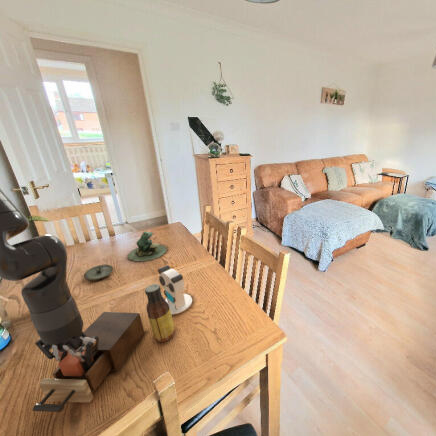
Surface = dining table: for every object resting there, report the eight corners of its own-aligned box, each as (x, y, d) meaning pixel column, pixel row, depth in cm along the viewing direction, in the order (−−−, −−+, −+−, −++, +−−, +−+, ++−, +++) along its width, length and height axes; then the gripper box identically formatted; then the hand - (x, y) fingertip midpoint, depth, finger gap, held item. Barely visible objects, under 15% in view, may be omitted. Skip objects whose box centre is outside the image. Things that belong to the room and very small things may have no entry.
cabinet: (117, 371, 68) (109, 350, 65) (76, 370, 68) (66, 348, 65) (144, 332, 81) (139, 312, 77) (110, 331, 80) (103, 311, 77)
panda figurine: (154, 304, 93) (146, 272, 87) (181, 289, 101) (176, 259, 96) (169, 319, 86) (162, 285, 81) (197, 302, 95) (193, 270, 89)
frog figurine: (172, 252, 129) (169, 233, 125) (135, 265, 116) (130, 244, 112) (158, 241, 139) (155, 223, 135) (123, 252, 127) (117, 233, 122)
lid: (107, 269, 115) (102, 260, 113) (118, 270, 110) (114, 261, 109) (82, 282, 106) (77, 272, 105) (93, 283, 102) (88, 273, 100)
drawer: (74, 423, 55) (65, 405, 53) (29, 422, 55) (18, 403, 53) (123, 357, 71) (117, 340, 69) (88, 355, 71) (81, 339, 69)
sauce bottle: (177, 326, 83) (168, 280, 76) (172, 342, 78) (162, 293, 70) (157, 328, 82) (146, 281, 75) (150, 344, 76) (138, 294, 69)
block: (63, 376, 60) (57, 364, 58) (78, 359, 64) (73, 348, 63) (80, 376, 60) (75, 364, 59) (94, 360, 64) (90, 348, 63)
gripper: (100, 307, 59) (116, 355, 66) (42, 304, 59) (64, 353, 65) (74, 331, 52) (95, 383, 59) (9, 329, 52) (37, 381, 59)
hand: (78, 367), depth 62 cm, fingers closed on block, 4 cm apart
